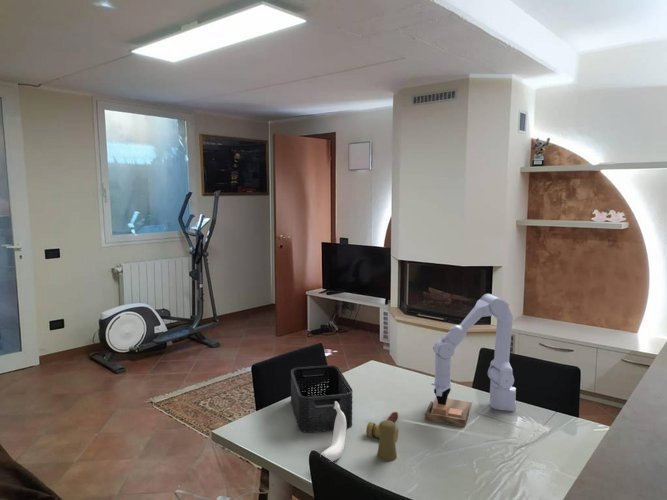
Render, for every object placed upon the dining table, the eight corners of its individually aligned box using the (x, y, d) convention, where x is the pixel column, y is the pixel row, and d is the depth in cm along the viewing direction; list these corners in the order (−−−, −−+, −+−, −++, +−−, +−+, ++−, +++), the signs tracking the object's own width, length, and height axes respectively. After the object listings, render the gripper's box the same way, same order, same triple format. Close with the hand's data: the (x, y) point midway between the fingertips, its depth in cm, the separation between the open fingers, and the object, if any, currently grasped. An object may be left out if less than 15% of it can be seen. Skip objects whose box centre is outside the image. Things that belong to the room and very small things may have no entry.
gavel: (384, 404, 175) (410, 408, 171) (383, 416, 175) (409, 421, 171) (366, 425, 156) (395, 430, 152) (365, 438, 156) (394, 444, 152)
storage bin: (354, 429, 162) (354, 392, 161) (299, 434, 158) (299, 397, 157) (336, 396, 190) (336, 364, 189) (289, 400, 186) (289, 368, 185)
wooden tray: (472, 404, 182) (472, 396, 181) (464, 429, 162) (465, 420, 161) (436, 398, 187) (436, 390, 187) (424, 421, 167) (424, 413, 167)
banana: (320, 471, 136) (319, 423, 135) (334, 439, 155) (334, 397, 153) (336, 473, 135) (336, 425, 134) (348, 441, 154) (348, 398, 152)
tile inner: (462, 416, 169) (462, 410, 169) (460, 422, 165) (460, 415, 165) (449, 414, 171) (450, 408, 171) (447, 419, 167) (448, 413, 167)
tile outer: (447, 411, 173) (447, 405, 173) (445, 416, 169) (445, 410, 169) (435, 409, 175) (435, 403, 175) (433, 414, 171) (433, 408, 171)
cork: (396, 451, 147) (396, 418, 146) (397, 461, 141) (397, 427, 140) (377, 450, 148) (377, 417, 147) (377, 460, 142) (377, 426, 141)
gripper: (435, 364, 182) (435, 398, 183) (428, 377, 169) (427, 413, 170) (454, 367, 179) (453, 401, 181) (447, 380, 166) (446, 416, 167)
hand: (441, 407), depth 175 cm, fingers closed
